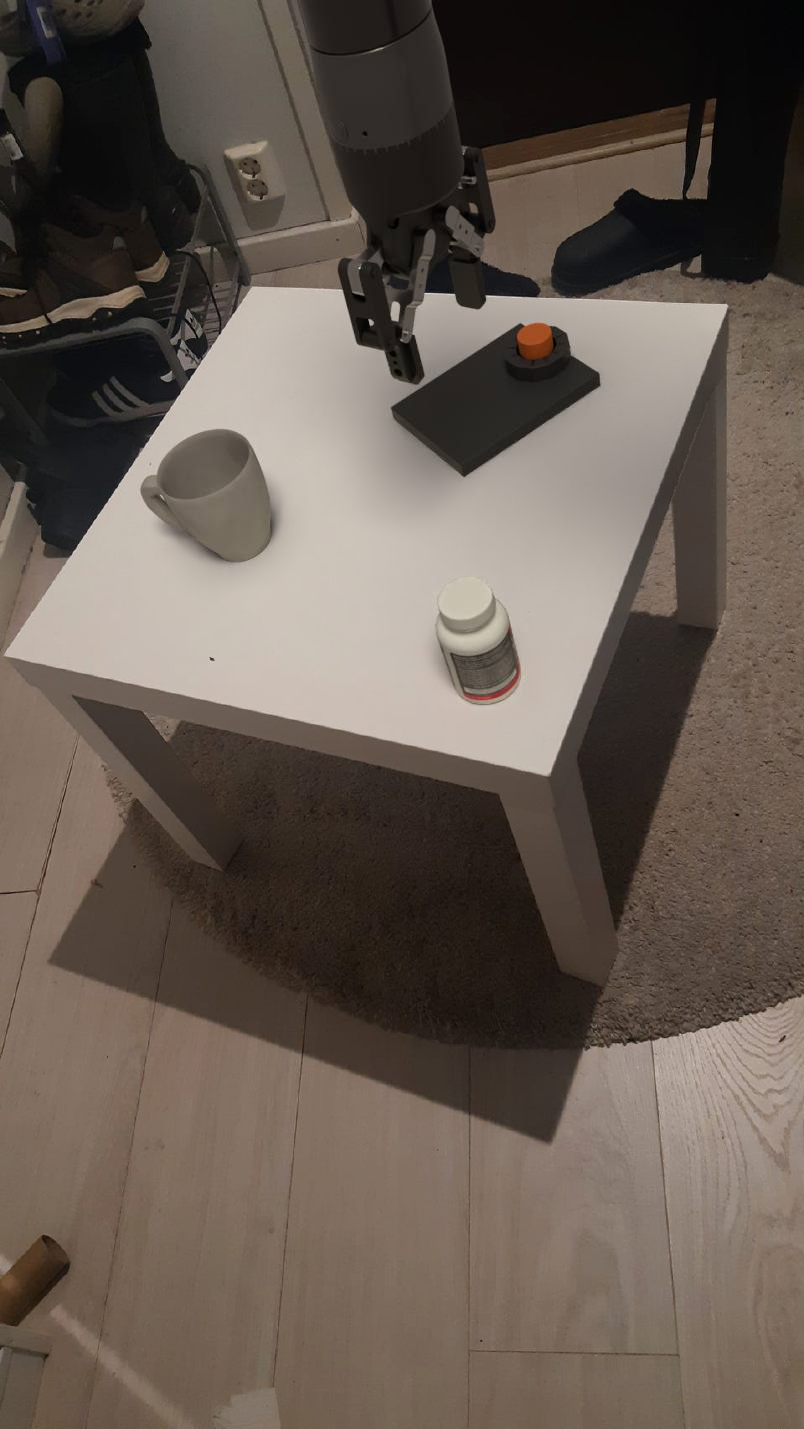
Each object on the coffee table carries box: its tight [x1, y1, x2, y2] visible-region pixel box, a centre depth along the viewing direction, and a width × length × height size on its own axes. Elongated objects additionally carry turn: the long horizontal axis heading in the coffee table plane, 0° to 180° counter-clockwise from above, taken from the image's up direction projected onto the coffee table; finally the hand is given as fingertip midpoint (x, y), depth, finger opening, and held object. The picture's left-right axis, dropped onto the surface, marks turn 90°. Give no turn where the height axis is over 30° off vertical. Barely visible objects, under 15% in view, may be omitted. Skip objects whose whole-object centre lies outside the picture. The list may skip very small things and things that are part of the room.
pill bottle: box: [435, 576, 522, 705], centre depth 73 cm, size 5×5×10 cm
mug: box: [139, 428, 272, 563], centre depth 88 cm, size 12×9×10 cm
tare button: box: [517, 322, 553, 360], centre depth 92 cm, size 3×3×2 cm
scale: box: [390, 322, 601, 477], centre depth 93 cm, size 17×12×3 cm
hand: (442, 341), depth 71 cm, fingers open, 8 cm apart
